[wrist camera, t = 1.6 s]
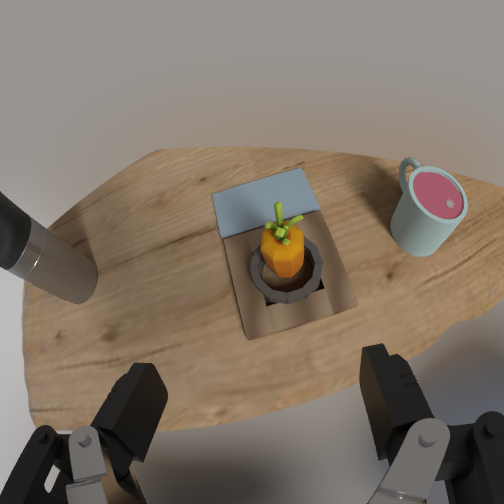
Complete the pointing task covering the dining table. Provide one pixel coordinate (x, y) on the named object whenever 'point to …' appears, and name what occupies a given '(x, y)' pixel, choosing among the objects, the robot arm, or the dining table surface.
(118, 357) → the dining table surface
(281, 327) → the ring stand
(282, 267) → the carrot
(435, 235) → the mug
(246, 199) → the slate mat
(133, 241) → the dining table surface
